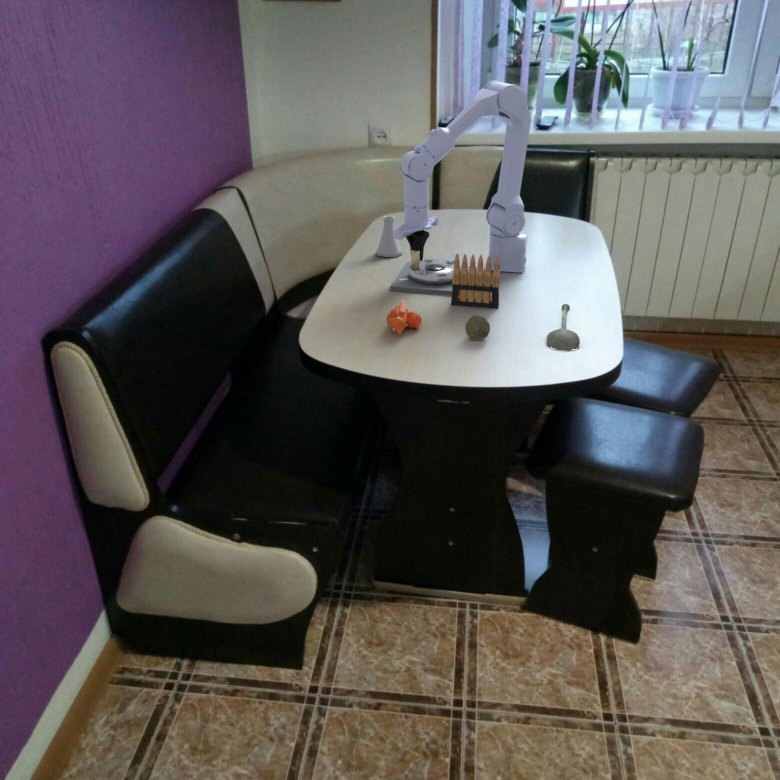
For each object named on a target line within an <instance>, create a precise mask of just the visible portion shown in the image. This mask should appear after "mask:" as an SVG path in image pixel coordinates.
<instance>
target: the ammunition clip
mask: <svg viewBox="0 0 780 780" xmlns="http://www.w3.org/2000/svg"><path fill="white" fill-rule="evenodd" d="M482 255H483V254H480V256H479V257H478V259H477V261H478V262H477V271H475V267H476V257H475V255H474V254H472V255H471V257H470V261H469V266H470V269H469V275H468V267H467V266H468V257H467V256H468V255H467V254H466V253H464V255H463V257H462V260H461V261H462V262H460V257H459V256H460V255H459V253H456V255H455V257H454V260H455V261H454V270H453V286H452V295H451V298H450V299H451V300H450V306H452V307H465V306H466V307H468V308H476V309H477V308H479V309H480V308H481V309H490V310H491V309H492V310H493V309H494V310H498V309H499V307H500V283H501V282H500V280H501V279H500V278H501V273H500V272H501V271H500V269H499V267H500V264H499V257H498V256H497V257H496V259H495V263H494V271H493V272H492V271H491V258H490V255H489V254H488V256H487V259H486V262H485V263H486V264H485V267H486V270H485V269H484V258H483V256H482ZM460 263H461V264H460ZM460 265H462V270H461V280H460ZM484 270H485V271H484ZM467 290H468V291H467Z"/></svg>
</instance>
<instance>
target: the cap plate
mask: <svg viewBox="0 0 780 780" xmlns="http://www.w3.org/2000/svg"><path fill="white" fill-rule="evenodd" d="M410 264H411V261H407V262H406V263H405V265H404V266H403V268H402V269H401V270H400V272H399V274H398V275H397V276H396V278H395V279H394V280H393V282H392V283H391V285H390V287H389V288H390V291H395V292H396V291H397V292H406V293H407V292H408V293H409V292H410V293H417V294H418V293H419V294H420V293H421V294H430V295H431V294H433V295H446V296H452V286H453V282H452V283H448V284H437V285H434V284H423V283H419V282H416V281H414V280H412V279H410V278H409V266H410ZM460 266H461V267H462V264H460ZM467 267H468V275H469V269H470V265H467ZM477 268H478V266H475V271H476V272H477ZM460 280H461V278H460ZM467 292H468V290H467Z"/></svg>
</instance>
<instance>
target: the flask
mask: <svg viewBox="0 0 780 780" xmlns="http://www.w3.org/2000/svg"><path fill="white" fill-rule="evenodd" d="M382 220H383V229H382V233H381V236H380V240H379V243H378V246H377V248H376V251H375V253H376V256H377V257H383V258H395V257H396V258H398V257H399V256H401V255H402V254H403V251H402V248H401V246H400V245H401V244H400V243H399V239H395V238H394V231H395V230H396V229H395V226H394V225H395V224H394V222H395V221H396V219H395V216H391V215H385V216H382Z"/></svg>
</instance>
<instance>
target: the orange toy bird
mask: <svg viewBox="0 0 780 780" xmlns="http://www.w3.org/2000/svg"><path fill="white" fill-rule="evenodd" d="M407 306H408V305H407V300H403V299H401V301H400V304H399V305H396V306H395V307H393V309H391V310H390V311H389V313H388V314H387V315H386V324H387V326H388V327H389V328H390V329H392V332H393V333H396V334H397V335H399V336H400V335H401V334H402V333H403V330H405V328H406V327H407V326H408V327H409V328H411V329H417V328H419V327H420V326H421V324H422V317H421V315H420V314H419V313H417V312H415V311H409V310H408V308H407Z"/></svg>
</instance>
